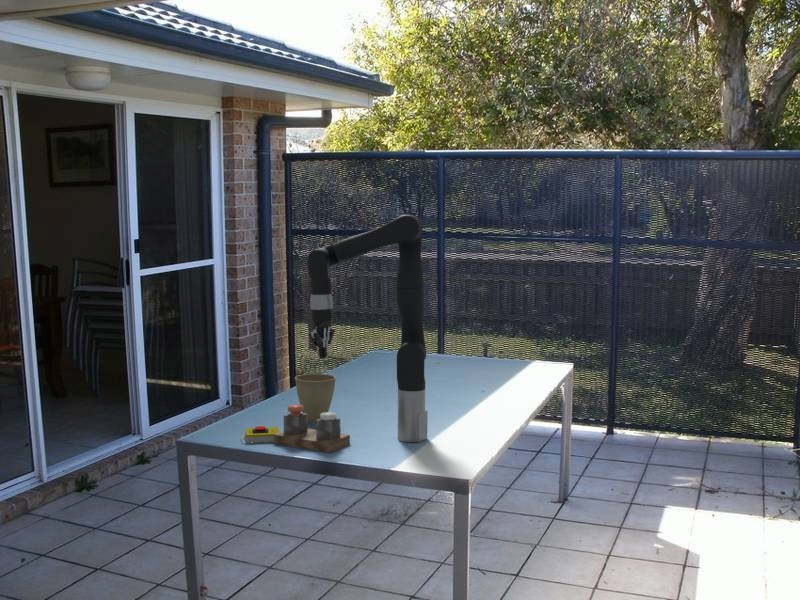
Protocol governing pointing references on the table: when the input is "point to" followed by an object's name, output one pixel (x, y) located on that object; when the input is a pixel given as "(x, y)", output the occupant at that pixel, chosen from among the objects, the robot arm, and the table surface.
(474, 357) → the table surface
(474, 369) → the table surface
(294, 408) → the red plunger
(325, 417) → the white plunger
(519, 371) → the table surface
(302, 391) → the plant pot
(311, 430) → the press board
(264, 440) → the emergency button
